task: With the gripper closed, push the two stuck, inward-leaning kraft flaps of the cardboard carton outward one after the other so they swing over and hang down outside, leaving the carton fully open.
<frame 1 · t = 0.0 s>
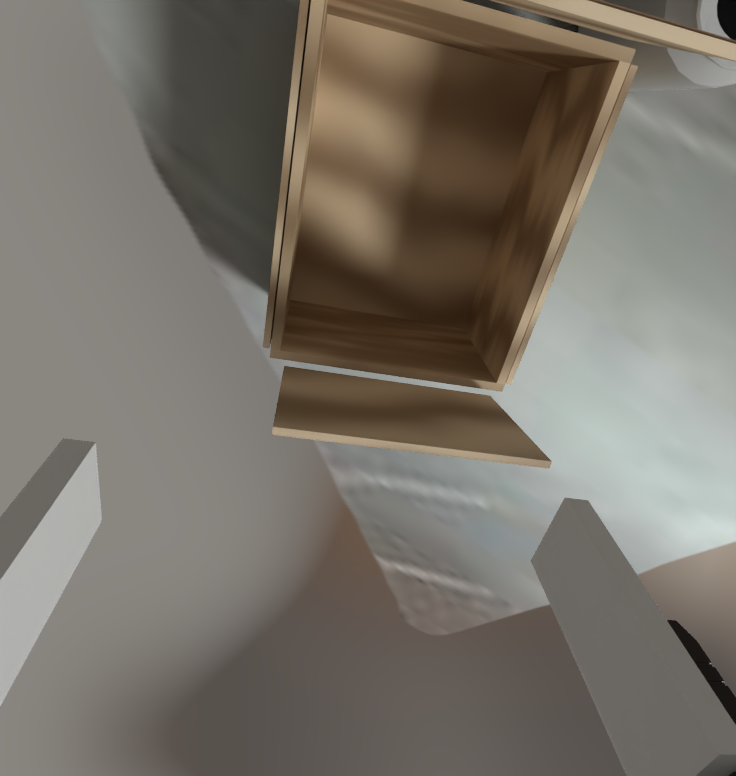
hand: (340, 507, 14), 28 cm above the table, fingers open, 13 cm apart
carton: (405, 195, 36), on the table
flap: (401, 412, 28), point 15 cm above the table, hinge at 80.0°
can: (626, 26, 32), on the table
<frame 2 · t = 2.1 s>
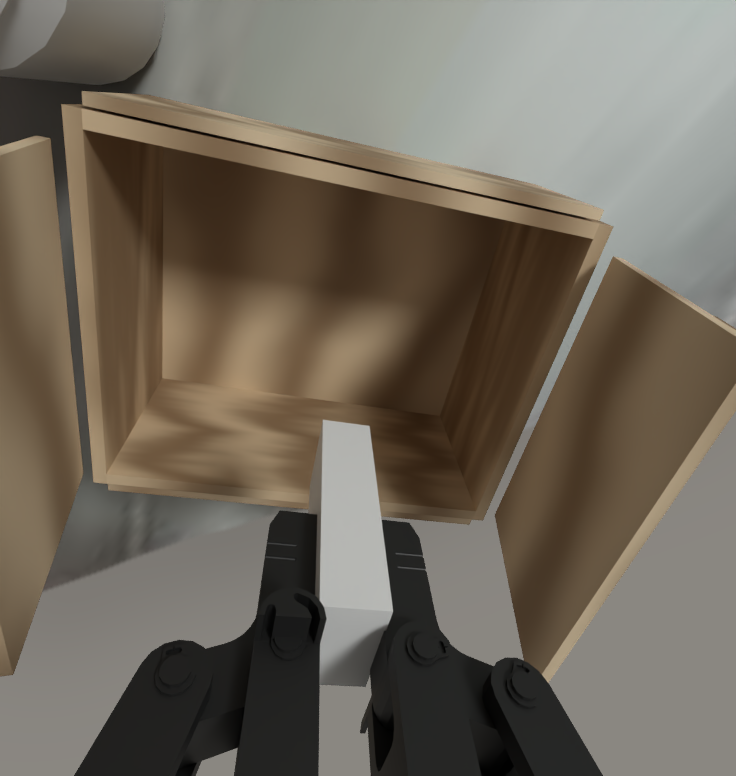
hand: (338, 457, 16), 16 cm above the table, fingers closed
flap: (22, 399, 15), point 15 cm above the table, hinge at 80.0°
carton: (326, 291, 30), on the table
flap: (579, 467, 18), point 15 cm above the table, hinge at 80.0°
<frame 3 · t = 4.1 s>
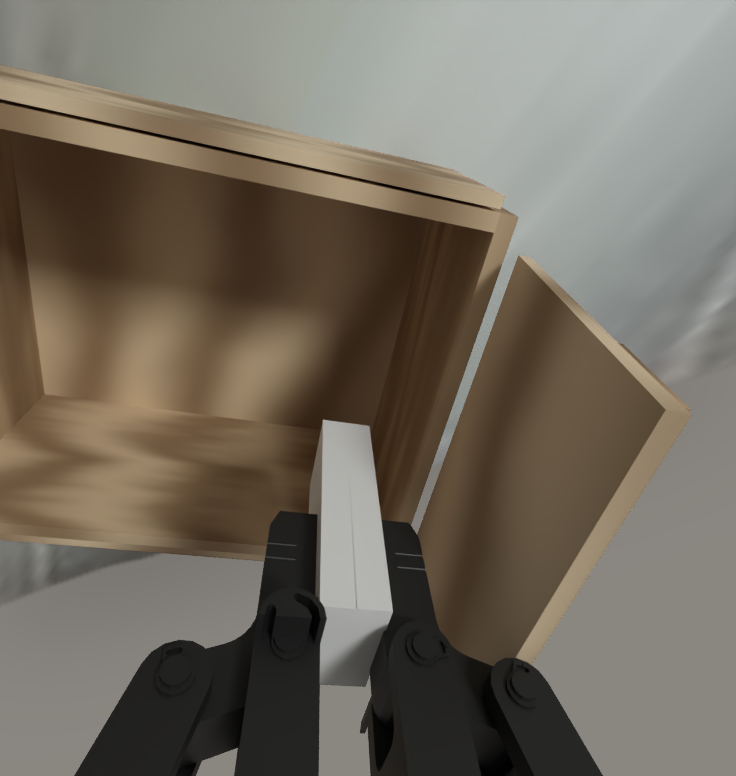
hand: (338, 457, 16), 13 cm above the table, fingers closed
carton: (226, 295, 26), on the table
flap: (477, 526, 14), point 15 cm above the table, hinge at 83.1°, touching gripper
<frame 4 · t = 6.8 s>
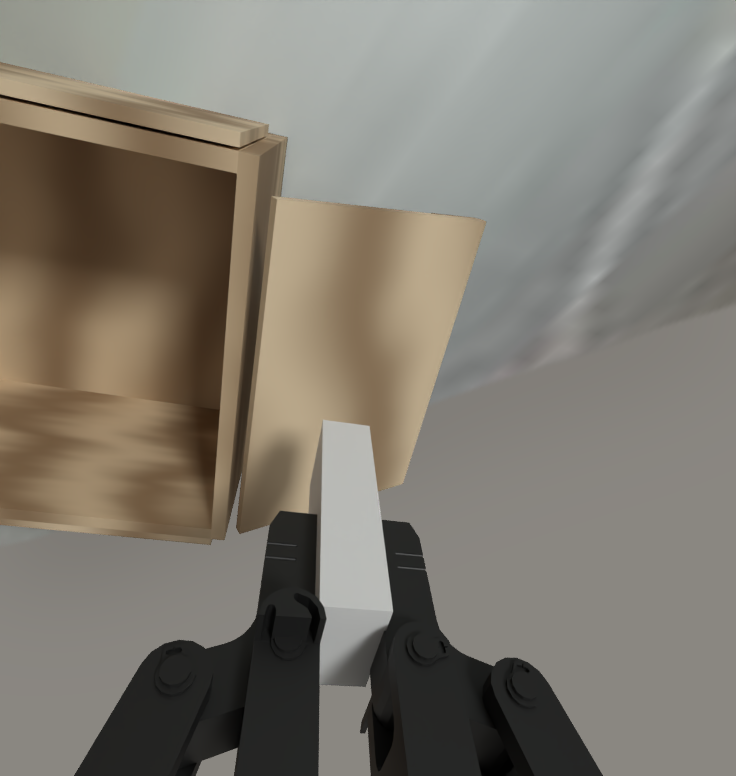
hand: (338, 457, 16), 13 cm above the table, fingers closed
carton: (74, 263, 25), on the table
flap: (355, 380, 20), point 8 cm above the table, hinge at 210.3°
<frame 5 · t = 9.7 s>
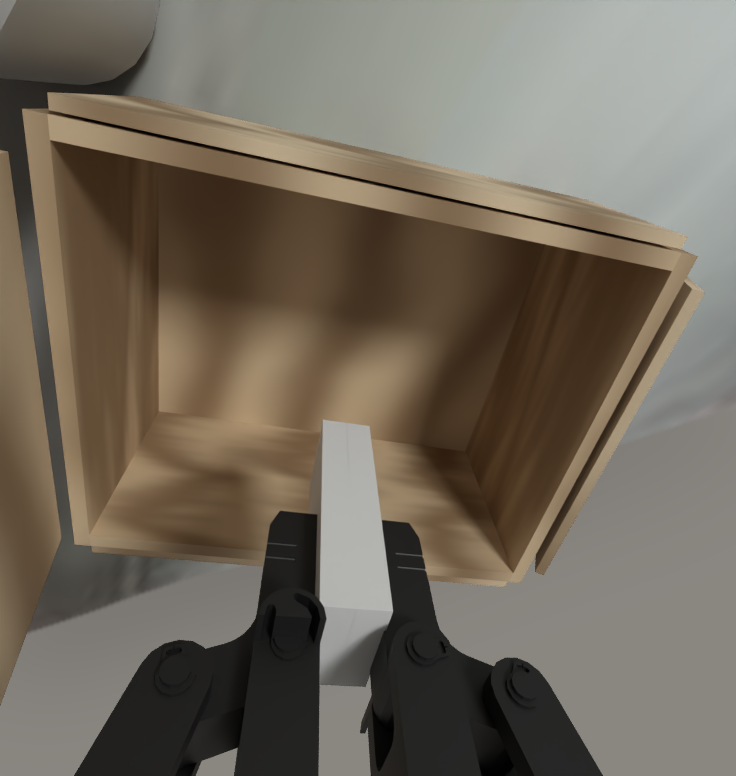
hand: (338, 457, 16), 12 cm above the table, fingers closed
carton: (341, 316, 26), on the table
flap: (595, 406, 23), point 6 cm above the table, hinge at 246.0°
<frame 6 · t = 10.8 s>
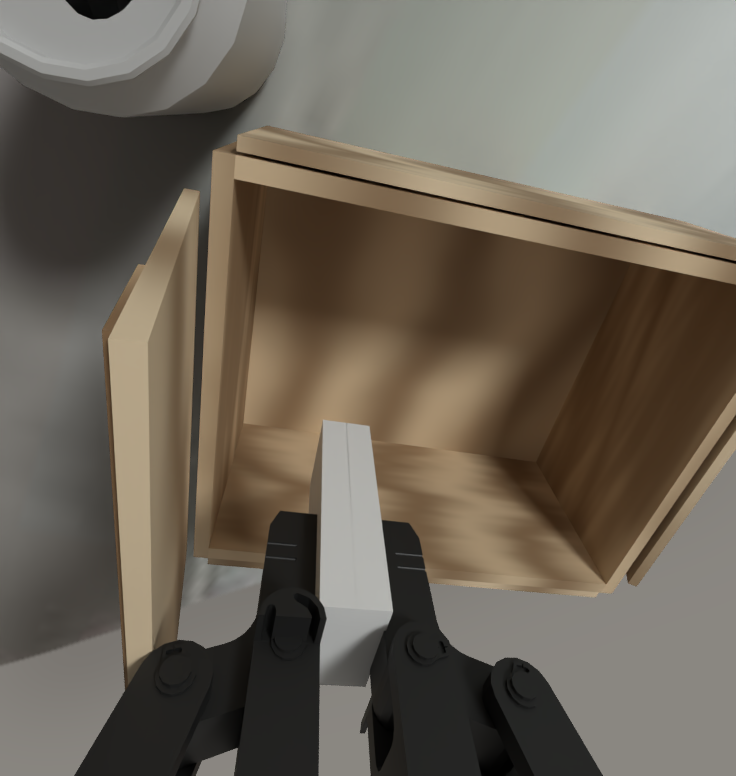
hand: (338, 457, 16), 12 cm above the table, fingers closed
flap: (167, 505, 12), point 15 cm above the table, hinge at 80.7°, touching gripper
carton: (426, 331, 27), on the table
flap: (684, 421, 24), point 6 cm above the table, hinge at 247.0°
can: (195, 5, 19), on the table
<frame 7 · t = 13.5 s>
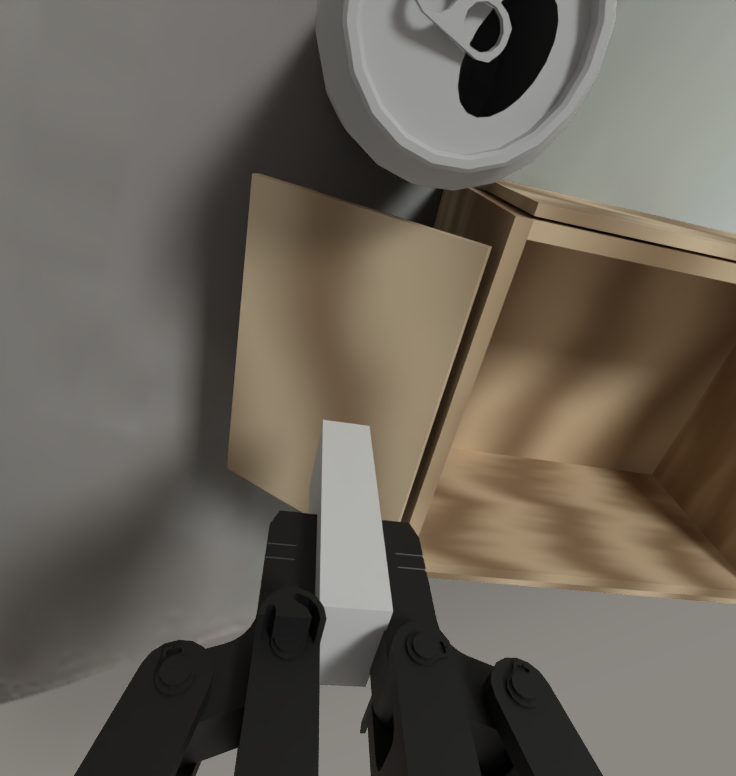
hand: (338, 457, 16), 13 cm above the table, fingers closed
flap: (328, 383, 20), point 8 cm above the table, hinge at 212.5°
carton: (568, 354, 29), on the table
can: (407, 62, 21), on the table
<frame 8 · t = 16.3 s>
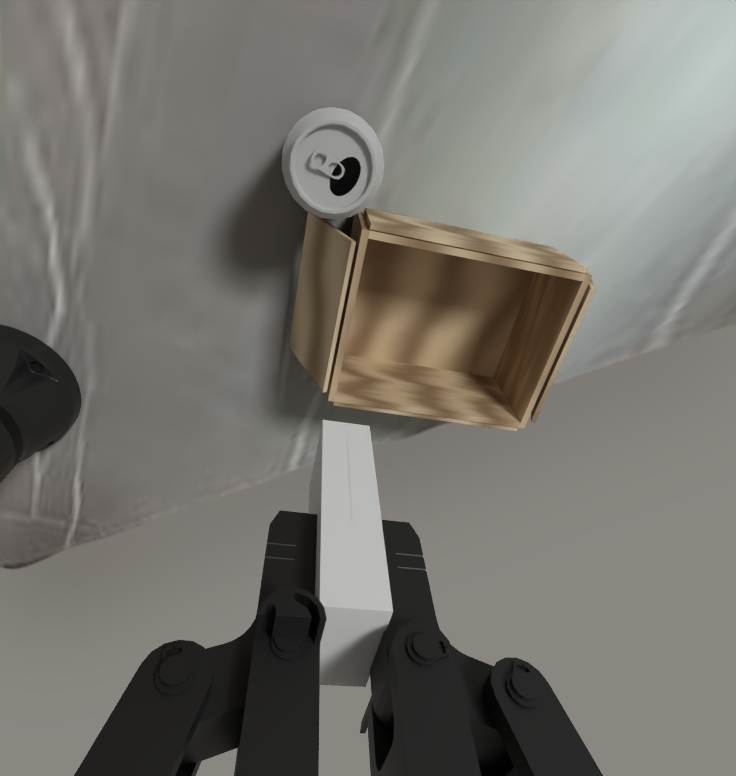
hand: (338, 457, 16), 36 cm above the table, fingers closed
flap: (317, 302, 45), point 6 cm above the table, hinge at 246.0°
carton: (432, 302, 52), on the table
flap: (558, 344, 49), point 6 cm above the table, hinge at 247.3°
can: (332, 154, 44), on the table
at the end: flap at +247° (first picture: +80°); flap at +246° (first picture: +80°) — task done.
